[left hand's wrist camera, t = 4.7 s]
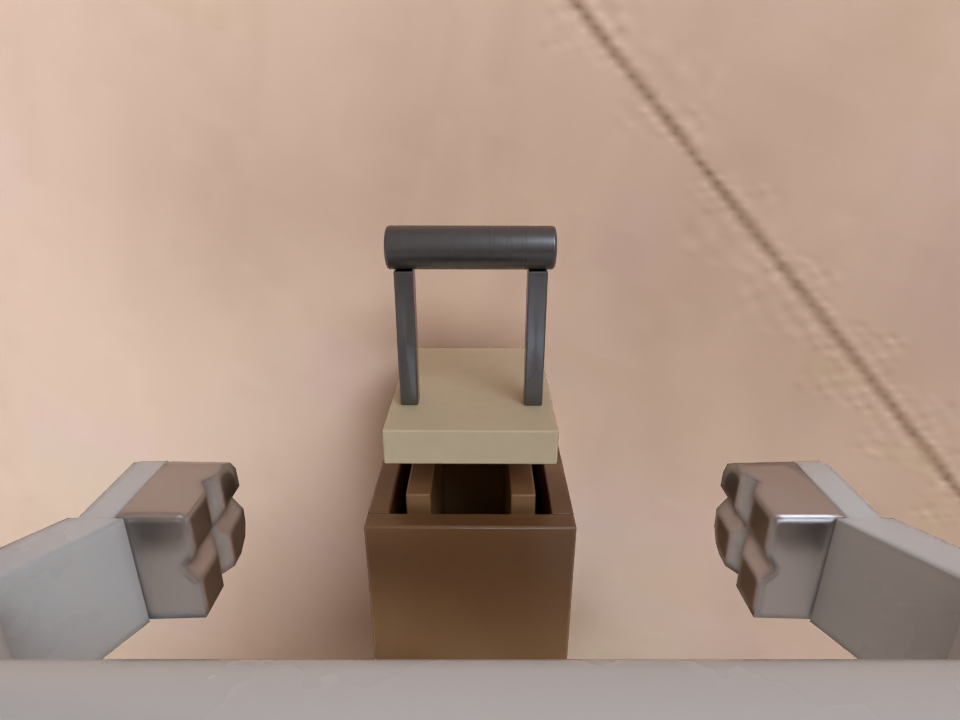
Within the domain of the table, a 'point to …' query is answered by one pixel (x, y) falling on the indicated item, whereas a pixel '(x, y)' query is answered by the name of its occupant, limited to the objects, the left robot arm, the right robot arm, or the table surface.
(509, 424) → the drawer
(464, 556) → the tall brown box
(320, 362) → the table surface
